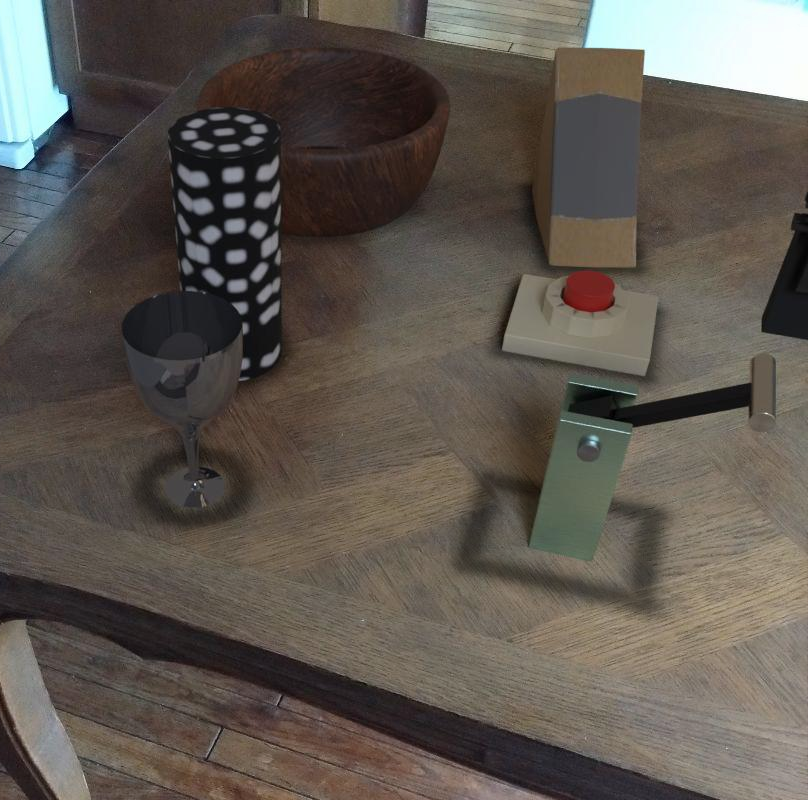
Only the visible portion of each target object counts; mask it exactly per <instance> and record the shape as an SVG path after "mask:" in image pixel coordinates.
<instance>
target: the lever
mask: <svg viewBox="0 0 808 800" xmlns="http://www.w3.org/2000/svg"><path fill="white" fill-rule="evenodd" d="M776 360H777V359H776V358H775V357H774V356H773V355H772V354H770V353H763V352H761V353H757V354H756V355H755V356H753V357H752V358H751V360H750V362H749V381H748V382H747V383H740V384H736V385H731V386H730V385H729V386H725V387H721V388H720V387H719V388H714V389H711V390H705V391H700V392H695V393H690V394H685V395H679V396H675V397H670V398H669V397H668V398H664V399H660V400H659V399H658V400H654V401H648V402H644V403H639V404H635V405H633V406H628V407H623V408H618V409H617V408H616V405H615V402H614V400H613V397H612V396H607V397H602V398H597V399H592V400H587V401H582V402H577V403H572V404H569V408H568V412H572V413H577V414H583V415H588V416H593V417H598V418H604V419H609V420H614V421H619V422H625V423H630V424H633V429H635V428H640V427H646V426H651V425H652V426H653V425H656V424H661V423H666V422H673V421H678V420H684V419H689V418H694V417H699V416H705V415H711V414H715V413H722V412H727V411H732V410H738V409H743V408H748V412H747V413H748V414H747V425H748V427H749V429H750V430H751V431H753V432H756V433H761V434H762V433H767V432H770V431H771V430H773V429H774V428H775V426H776V424H777V361H776Z"/></svg>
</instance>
